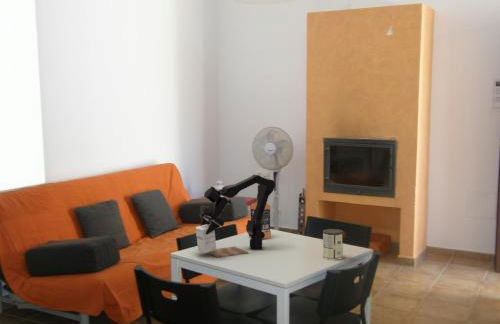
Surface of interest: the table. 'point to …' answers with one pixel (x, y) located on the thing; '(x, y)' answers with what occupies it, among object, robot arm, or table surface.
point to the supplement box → (205, 239)
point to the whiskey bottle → (263, 217)
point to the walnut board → (227, 252)
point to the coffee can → (332, 244)
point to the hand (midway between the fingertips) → (203, 232)
